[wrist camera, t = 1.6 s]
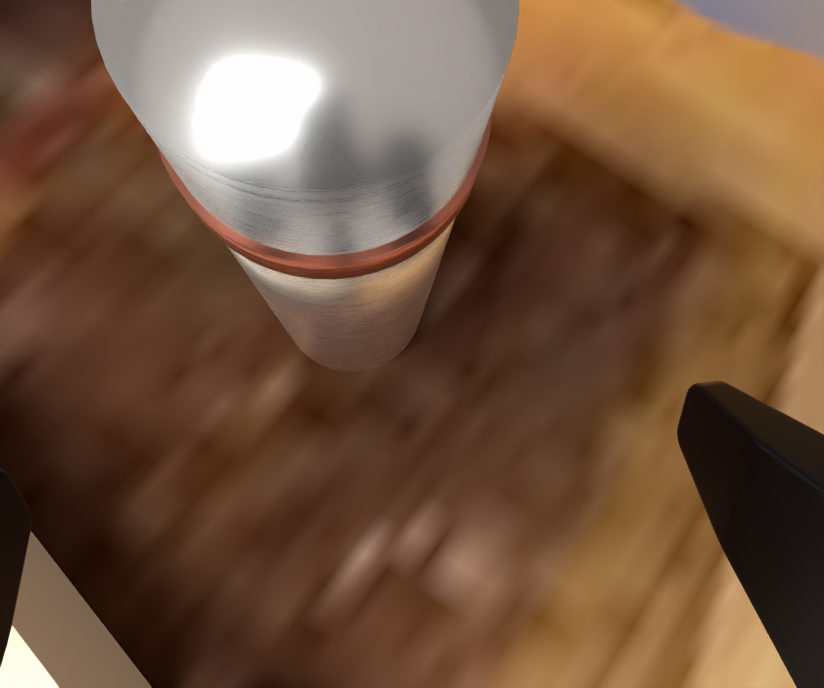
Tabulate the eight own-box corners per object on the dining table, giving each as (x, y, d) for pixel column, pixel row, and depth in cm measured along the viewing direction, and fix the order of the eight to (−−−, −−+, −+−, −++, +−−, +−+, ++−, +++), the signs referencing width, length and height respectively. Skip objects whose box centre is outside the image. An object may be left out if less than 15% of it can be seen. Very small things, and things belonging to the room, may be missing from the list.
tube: (454, 311, 21) (616, 21, 7) (343, 405, 20) (274, 293, 6) (361, 206, 21) (338, -267, 7) (249, 295, 20) (-12, -44, 7)
